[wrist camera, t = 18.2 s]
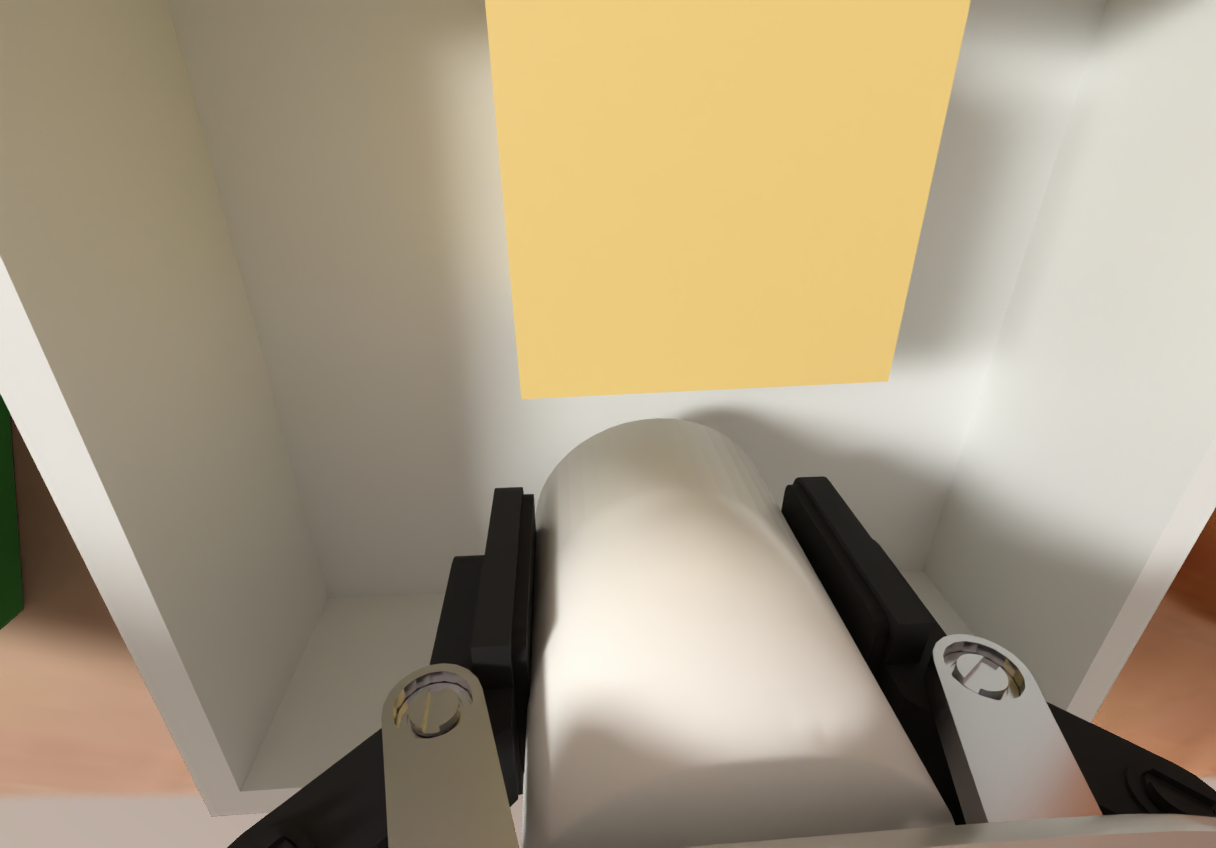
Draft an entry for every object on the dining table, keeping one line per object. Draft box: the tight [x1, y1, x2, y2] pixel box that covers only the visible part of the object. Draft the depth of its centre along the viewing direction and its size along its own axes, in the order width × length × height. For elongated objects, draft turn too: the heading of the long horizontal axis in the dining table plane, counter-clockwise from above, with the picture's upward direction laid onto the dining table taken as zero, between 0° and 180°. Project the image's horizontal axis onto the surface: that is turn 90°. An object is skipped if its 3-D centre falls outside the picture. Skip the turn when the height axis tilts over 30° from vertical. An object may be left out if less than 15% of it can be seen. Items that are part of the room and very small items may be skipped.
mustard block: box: [485, 0, 971, 399], centre depth 9 cm, size 5×5×5 cm
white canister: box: [521, 418, 955, 848], centre depth 10 cm, size 5×5×7 cm
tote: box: [0, 0, 1216, 817], centre depth 11 cm, size 17×15×6 cm
